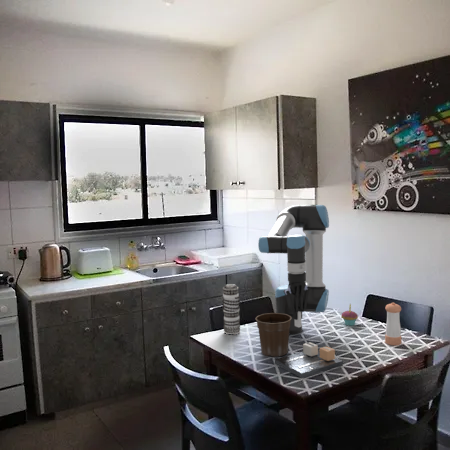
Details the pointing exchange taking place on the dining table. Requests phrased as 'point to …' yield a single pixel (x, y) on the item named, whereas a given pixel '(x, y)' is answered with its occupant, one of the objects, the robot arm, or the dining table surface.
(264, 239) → the robot arm
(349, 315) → the cupcake
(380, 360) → the dining table surface
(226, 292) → the decorative candle
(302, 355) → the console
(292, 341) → the dining table surface
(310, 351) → the fader
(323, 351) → the fader
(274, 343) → the plant pot
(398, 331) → the pepper shaker
